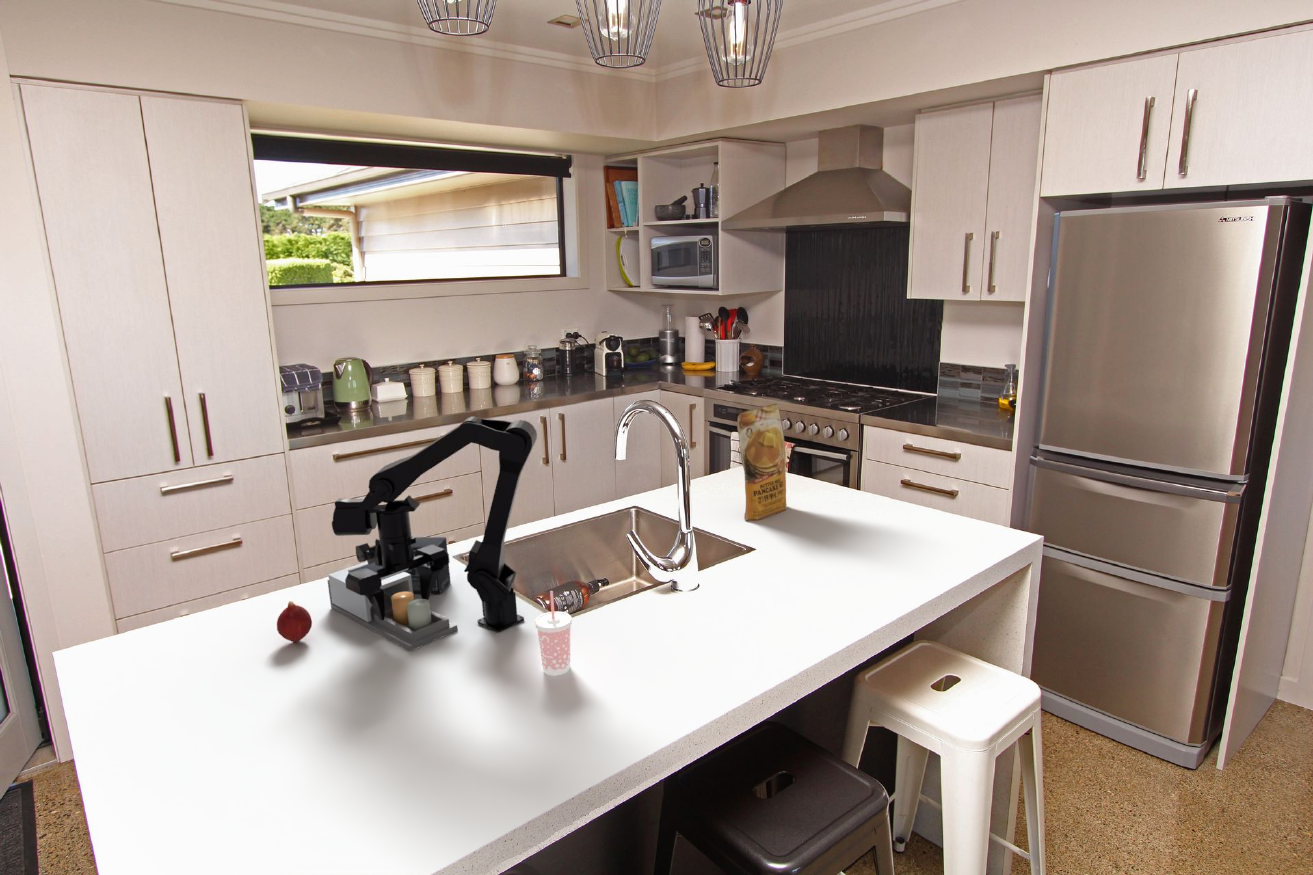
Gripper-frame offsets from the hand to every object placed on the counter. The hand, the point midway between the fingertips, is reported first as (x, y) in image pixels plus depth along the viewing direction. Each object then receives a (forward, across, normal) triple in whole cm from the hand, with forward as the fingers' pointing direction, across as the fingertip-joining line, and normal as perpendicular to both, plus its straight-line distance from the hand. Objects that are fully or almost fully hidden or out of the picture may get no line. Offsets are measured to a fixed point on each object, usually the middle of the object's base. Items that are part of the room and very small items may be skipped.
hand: (403, 610), depth 150 cm
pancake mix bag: (+3, -94, +20) cm, 96 cm away
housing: (+3, 0, -4) cm, 5 cm away
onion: (+3, +16, -10) cm, 19 cm away
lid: (+2, 0, -11) cm, 11 cm away
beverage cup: (+3, -7, +35) cm, 36 cm away
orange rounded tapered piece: (+2, 0, 0) cm, 2 cm away
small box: (+3, -12, -12) cm, 18 cm away
